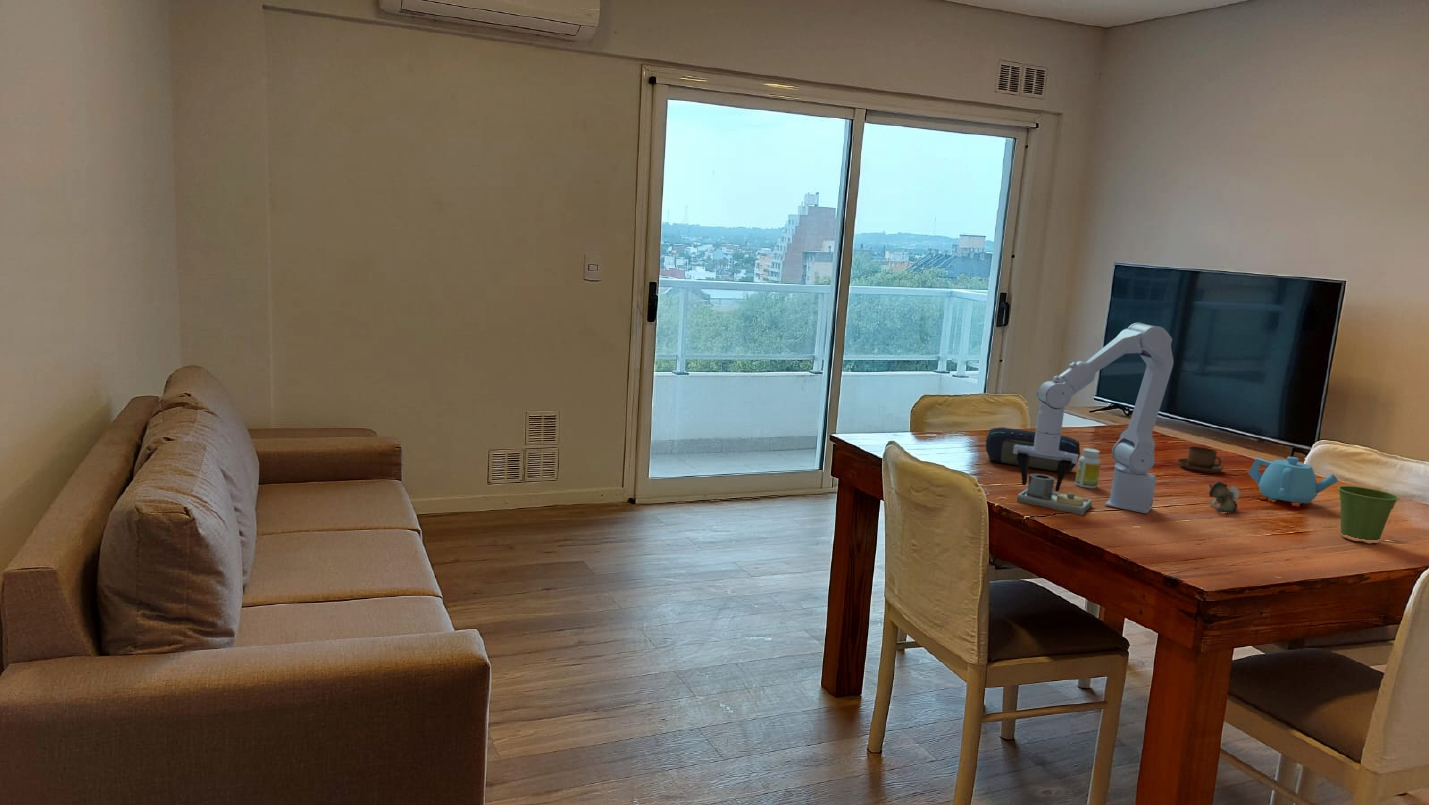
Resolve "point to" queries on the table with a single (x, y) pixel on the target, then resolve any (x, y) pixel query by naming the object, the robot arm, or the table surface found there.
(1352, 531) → the plant pot
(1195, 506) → the table surface
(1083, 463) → the supplement bottle
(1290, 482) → the teapot
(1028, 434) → the portable speaker
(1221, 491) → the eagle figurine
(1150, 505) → the robot arm
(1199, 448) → the cup and saucer
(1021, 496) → the carrier board
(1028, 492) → the grey hexagonal nut
